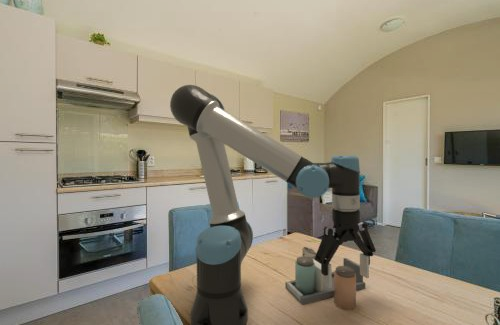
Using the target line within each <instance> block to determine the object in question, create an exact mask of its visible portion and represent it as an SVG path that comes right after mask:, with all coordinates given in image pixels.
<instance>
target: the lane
mask: <svg viewBox="0 0 500 325" xmlns="http://www.w3.org/2000/svg"><path fill="white" fill-rule="evenodd" d="M342 264H343V265H342V266H347V267H350V268H352V269H354V271H355V273H356V292H357V291H360V290H364V289H366V282H365V281H364V276H362V275H360V264H359V263H356V262H355V261H352V260H351V259H349V258H347V257H344V258H343V263H342ZM284 284H285V289H286V290H287V291H288V292H289V293H290V294H291V295H292V296H293V297H294V298H295V299H296V300H297V301H298V302H299V303H300V304H301V305H305V304H306V305H307V304H309V303H310V304H311V303H314V302H317V301H322V300H326V299H329V298H334V271H332V288H329V287H327V286H326V285H325V284H323V291H322V292H318V291H317V290H315V293H314V294H310V295H306V296H303V294H302V293H301V292H299V291H298V290H297V289H296V288H295V279H294V280H290V281H285V283H284Z"/></svg>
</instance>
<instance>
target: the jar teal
mask: <svg viewBox="0 0 500 325" xmlns="http://www.w3.org/2000/svg"><path fill="white" fill-rule="evenodd" d="M294 264H295V265H294V268H295V269H294V270H295V272H294V274H295V276H294V280H295V288H296V289H297V290H298V291H299V292H301V293H302V294H303V296H306V295H310V294H314V293H315V263H314V260H313V259H312V258H310V257H303V256H298V257H297V258H296V260H295V262H294Z"/></svg>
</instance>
